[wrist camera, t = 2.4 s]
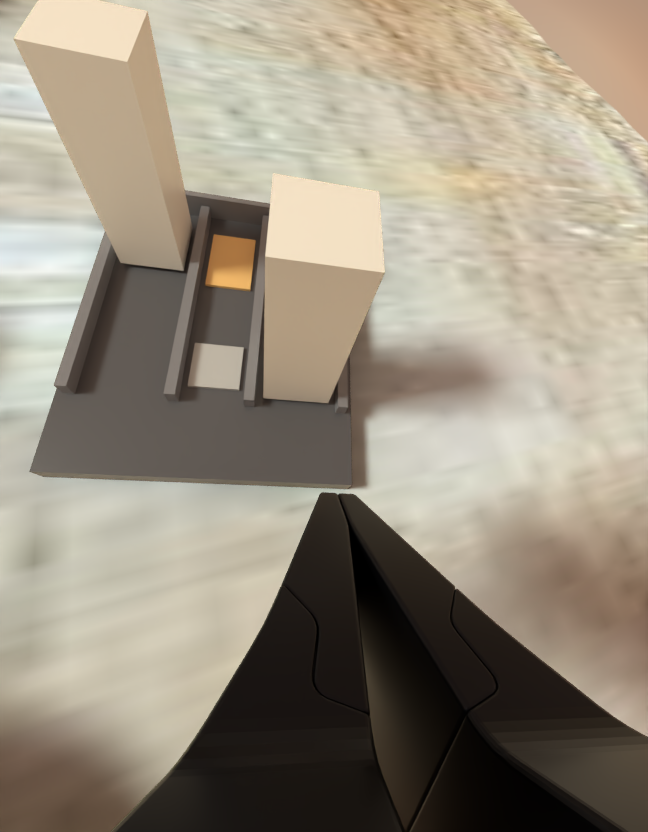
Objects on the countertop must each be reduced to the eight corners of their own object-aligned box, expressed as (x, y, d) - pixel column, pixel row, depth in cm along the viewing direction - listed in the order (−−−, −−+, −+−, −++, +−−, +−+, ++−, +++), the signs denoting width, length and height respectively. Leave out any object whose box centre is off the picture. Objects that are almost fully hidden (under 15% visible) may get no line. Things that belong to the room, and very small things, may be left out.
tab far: (183, 270, 24) (127, 61, 14) (120, 262, 23) (13, 38, 13) (192, 227, 25) (147, 11, 15) (133, 219, 25) (46, -12, 15)
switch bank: (347, 489, 22) (358, 479, 19) (42, 476, 19) (9, 464, 17) (343, 246, 29) (351, 216, 27) (124, 214, 27) (110, 178, 24)
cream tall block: (328, 403, 22) (384, 272, 12) (263, 398, 21) (265, 256, 11) (328, 348, 24) (379, 191, 13) (267, 342, 23) (273, 173, 13)
